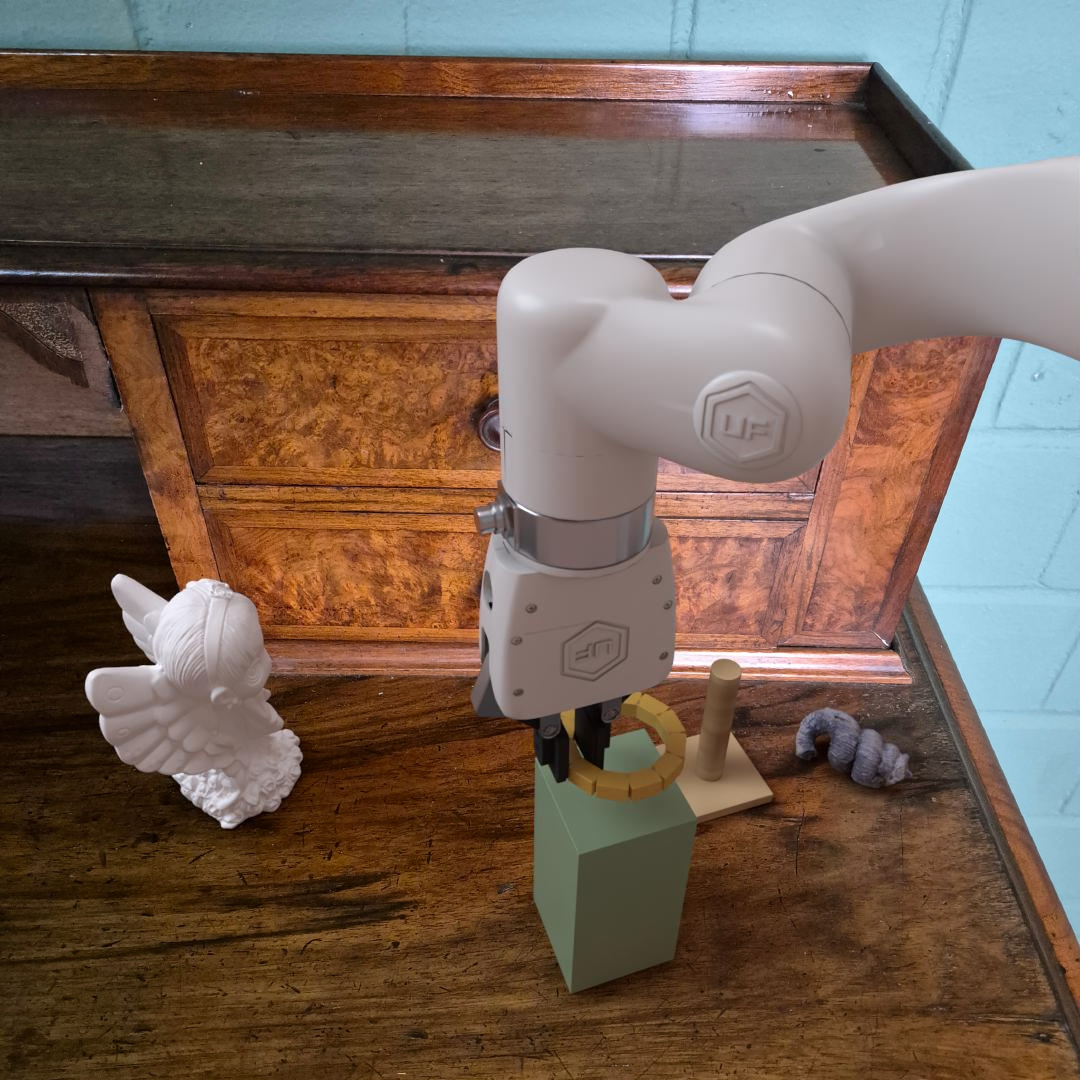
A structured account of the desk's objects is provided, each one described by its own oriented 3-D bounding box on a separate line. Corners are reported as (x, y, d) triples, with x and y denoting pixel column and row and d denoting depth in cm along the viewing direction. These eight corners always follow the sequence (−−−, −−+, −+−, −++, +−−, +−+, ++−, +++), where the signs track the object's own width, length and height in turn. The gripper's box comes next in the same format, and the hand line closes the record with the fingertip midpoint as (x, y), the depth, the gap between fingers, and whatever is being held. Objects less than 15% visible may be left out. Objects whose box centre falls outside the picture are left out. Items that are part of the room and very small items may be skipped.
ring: (707, 780, 57) (709, 766, 56) (583, 817, 55) (583, 803, 54) (650, 690, 63) (652, 677, 62) (537, 720, 61) (536, 706, 60)
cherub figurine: (299, 836, 77) (258, 654, 65) (138, 855, 75) (66, 672, 63) (305, 717, 87) (271, 541, 75) (164, 732, 85) (107, 555, 74)
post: (771, 801, 80) (798, 691, 72) (686, 827, 78) (704, 716, 70) (726, 733, 86) (746, 625, 78) (645, 756, 84) (658, 647, 76)
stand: (674, 959, 69) (698, 819, 59) (570, 994, 66) (578, 854, 57) (629, 868, 75) (644, 727, 65) (533, 897, 72) (534, 757, 63)
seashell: (789, 755, 86) (900, 805, 82) (785, 748, 81) (903, 801, 77) (812, 701, 87) (922, 748, 83) (809, 691, 82) (927, 740, 78)
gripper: (443, 588, 42) (463, 846, 53) (756, 520, 46) (715, 772, 57) (405, 499, 48) (430, 748, 58) (686, 446, 52) (661, 687, 63)
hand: (571, 758), depth 58 cm, fingers closed on ring, 1 cm apart
